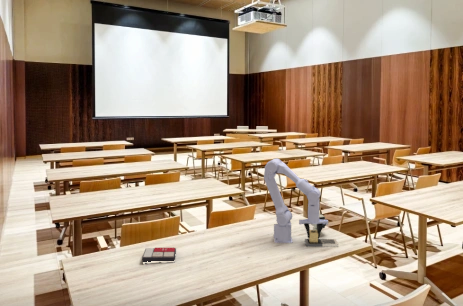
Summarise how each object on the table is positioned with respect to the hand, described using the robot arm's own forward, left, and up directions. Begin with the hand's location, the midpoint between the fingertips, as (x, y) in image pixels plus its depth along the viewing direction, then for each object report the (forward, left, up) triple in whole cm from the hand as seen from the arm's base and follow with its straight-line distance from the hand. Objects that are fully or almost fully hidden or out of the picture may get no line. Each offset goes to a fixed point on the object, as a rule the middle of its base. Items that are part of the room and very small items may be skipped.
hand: (313, 237), depth 191 cm
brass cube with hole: (0, 0, -2) cm, 2 cm away
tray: (+4, 0, -4) cm, 6 cm away
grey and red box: (-76, -19, -4) cm, 78 cm away
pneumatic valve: (+5, +15, -4) cm, 16 cm away
